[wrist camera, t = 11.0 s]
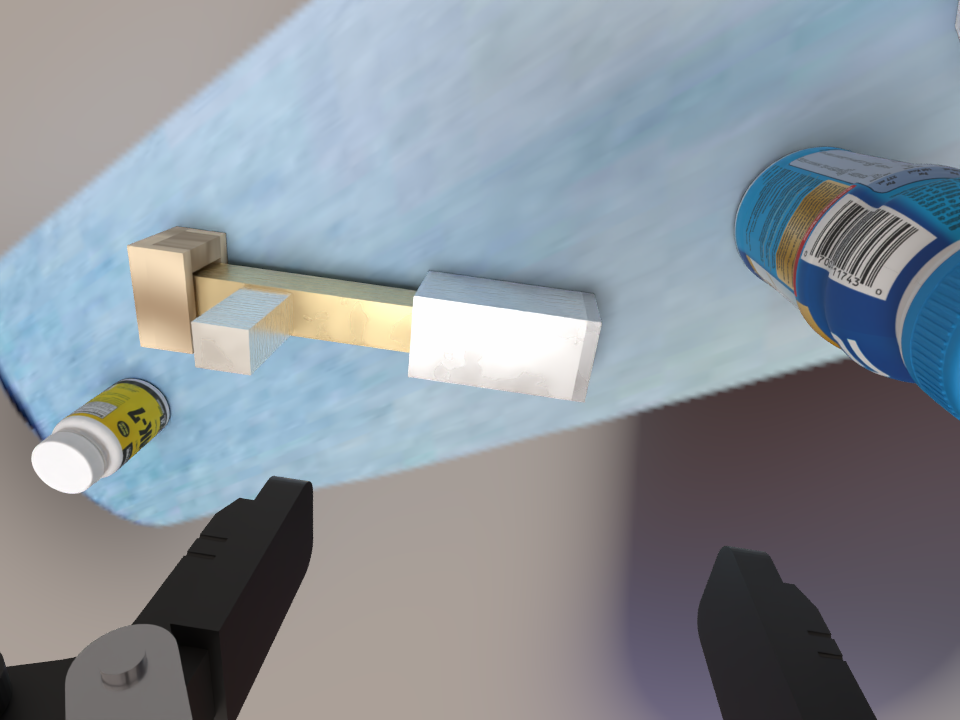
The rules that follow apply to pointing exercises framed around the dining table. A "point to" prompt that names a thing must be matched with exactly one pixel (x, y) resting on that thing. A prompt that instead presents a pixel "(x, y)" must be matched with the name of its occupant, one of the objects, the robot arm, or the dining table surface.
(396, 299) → the tan piece
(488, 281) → the white plaster block
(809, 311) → the beverage bottle
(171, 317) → the socket
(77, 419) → the supplement bottle
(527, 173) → the dining table surface
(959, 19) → the foam cup
